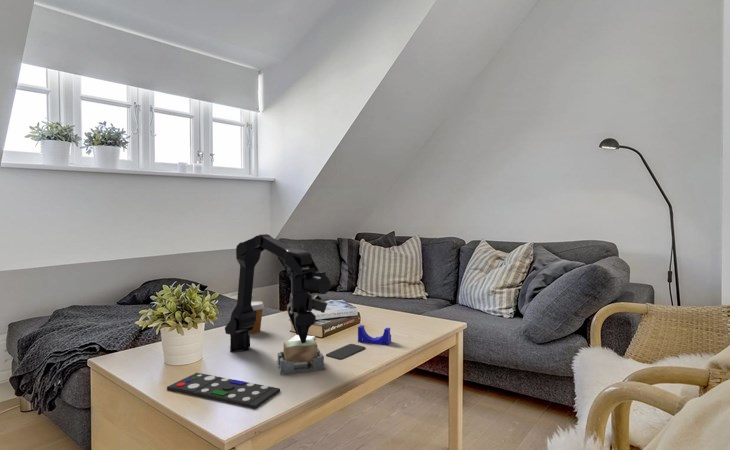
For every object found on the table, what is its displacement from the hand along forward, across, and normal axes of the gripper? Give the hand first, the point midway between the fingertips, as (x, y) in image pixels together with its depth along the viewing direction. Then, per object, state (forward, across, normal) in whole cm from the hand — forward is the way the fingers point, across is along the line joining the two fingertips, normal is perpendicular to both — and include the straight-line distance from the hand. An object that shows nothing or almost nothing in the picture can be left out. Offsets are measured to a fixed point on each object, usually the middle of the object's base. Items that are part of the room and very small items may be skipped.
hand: (300, 338), depth 136 cm
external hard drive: (+10, +25, -4) cm, 27 cm away
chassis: (+9, 0, 0) cm, 9 cm away
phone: (+10, +9, -18) cm, 22 cm away
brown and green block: (+7, 0, 0) cm, 7 cm away
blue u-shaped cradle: (+10, +17, -32) cm, 37 cm away
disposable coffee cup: (+9, +46, +12) cm, 49 cm away
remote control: (+10, -11, +24) cm, 28 cm away
